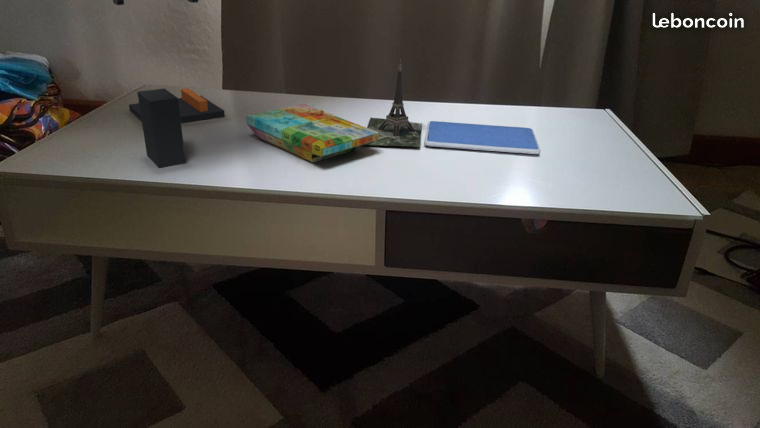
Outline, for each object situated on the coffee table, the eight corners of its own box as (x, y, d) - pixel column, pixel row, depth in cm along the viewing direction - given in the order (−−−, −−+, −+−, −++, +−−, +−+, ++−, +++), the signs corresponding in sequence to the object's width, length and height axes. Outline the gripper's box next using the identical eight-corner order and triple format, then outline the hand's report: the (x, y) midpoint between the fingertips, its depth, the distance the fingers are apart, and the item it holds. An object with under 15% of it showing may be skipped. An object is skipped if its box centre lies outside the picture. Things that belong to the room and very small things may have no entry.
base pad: (148, 128, 100) (145, 110, 98) (129, 110, 108) (126, 93, 107) (224, 116, 107) (223, 100, 106) (201, 101, 116) (200, 85, 114)
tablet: (423, 148, 96) (424, 141, 95) (427, 125, 107) (428, 118, 107) (540, 158, 94) (541, 150, 94) (531, 134, 105) (533, 127, 105)
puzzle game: (301, 99, 103) (379, 127, 90) (302, 124, 105) (378, 155, 92) (245, 110, 95) (322, 143, 83) (247, 137, 97) (322, 173, 85)
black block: (159, 168, 84) (149, 101, 79) (146, 155, 88) (137, 91, 84) (185, 163, 86) (178, 97, 82) (172, 150, 90) (164, 88, 86)
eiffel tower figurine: (369, 120, 109) (371, 48, 103) (422, 123, 108) (427, 51, 102) (361, 146, 96) (363, 66, 90) (421, 150, 95) (428, 70, 89)
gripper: (191, -151, 66) (203, -3, 74) (54, -168, 58) (83, 0, 66) (216, -155, 61) (227, 5, 68) (70, -174, 53) (99, 9, 60)
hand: (156, 3), depth 67 cm, fingers open, 8 cm apart
